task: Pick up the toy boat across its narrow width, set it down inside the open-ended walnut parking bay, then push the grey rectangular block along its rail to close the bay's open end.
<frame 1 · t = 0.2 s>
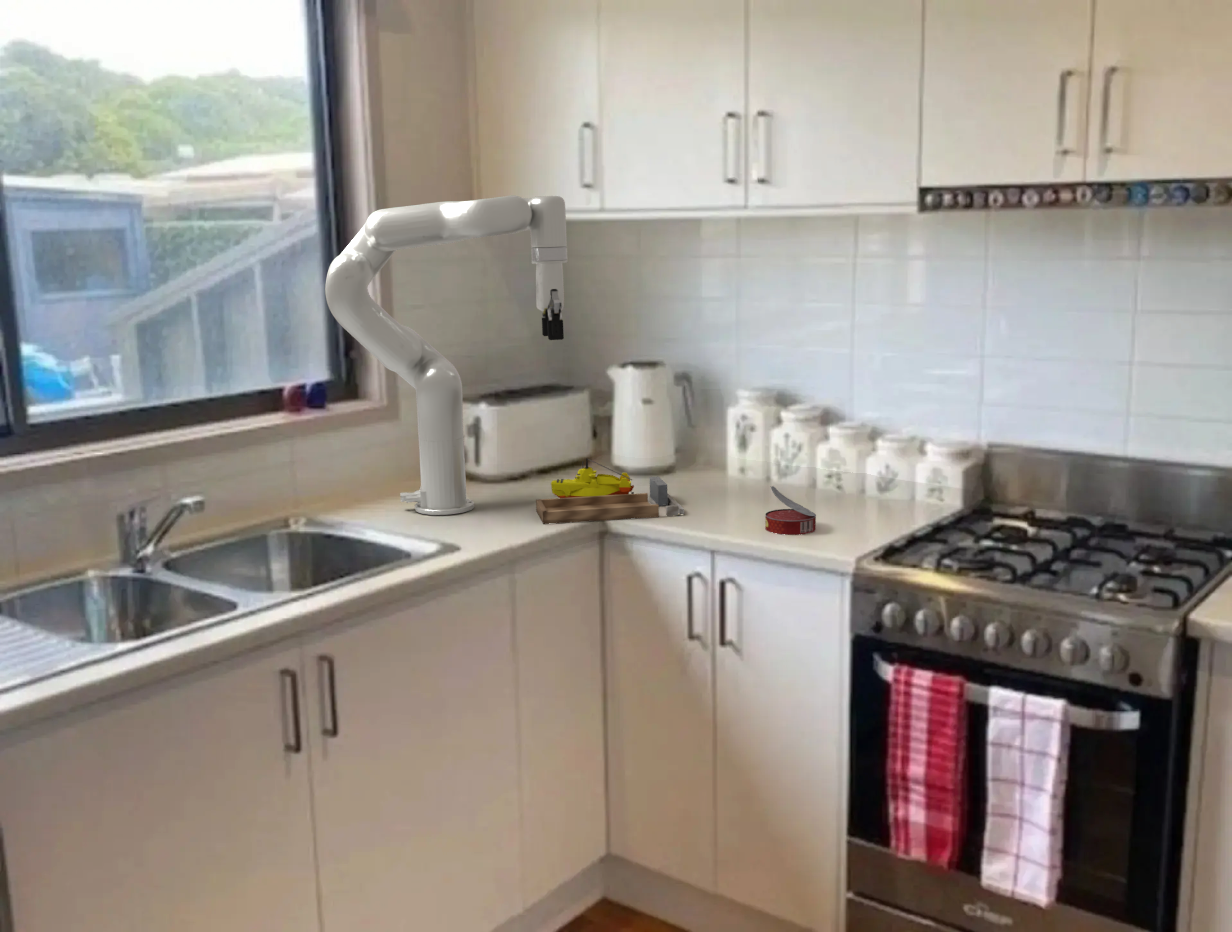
hand: (552, 337, 257), 36 cm above the countertop, tool pointing down, fingers open, 9 cm apart
bay: (596, 513, 253), on the countertop
canned food: (790, 530, 237), on the countertop
toy boat: (593, 503, 263), on the countertop
grey rectangular block: (658, 490, 262), point 2 cm above the countertop, slide at 8.0 cm
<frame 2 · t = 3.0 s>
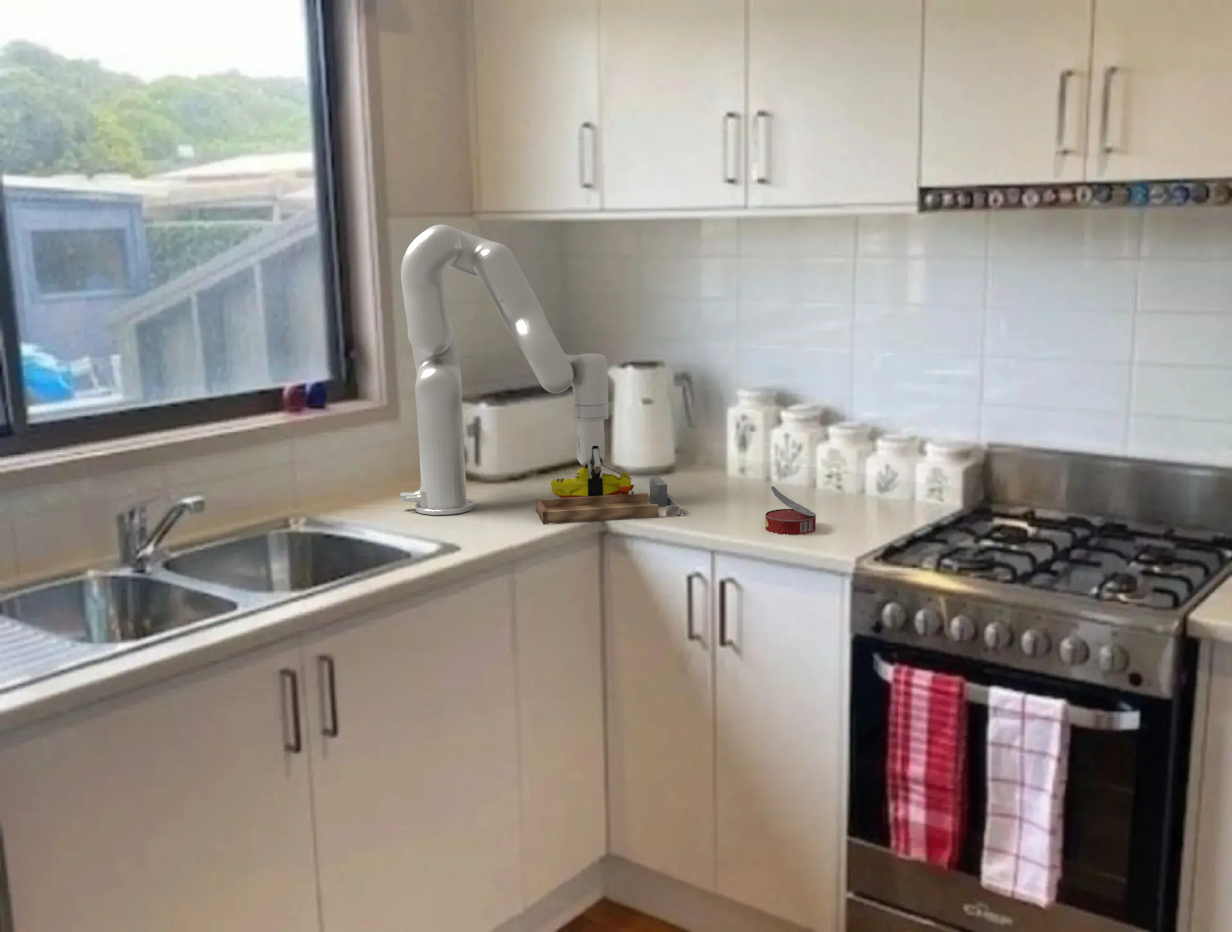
hand: (592, 492, 263), 2 cm above the countertop, tool pointing down, fingers closed on toy boat, 6 cm apart
toy boat: (593, 503, 263), on the countertop, touching gripper
everything else where it was.
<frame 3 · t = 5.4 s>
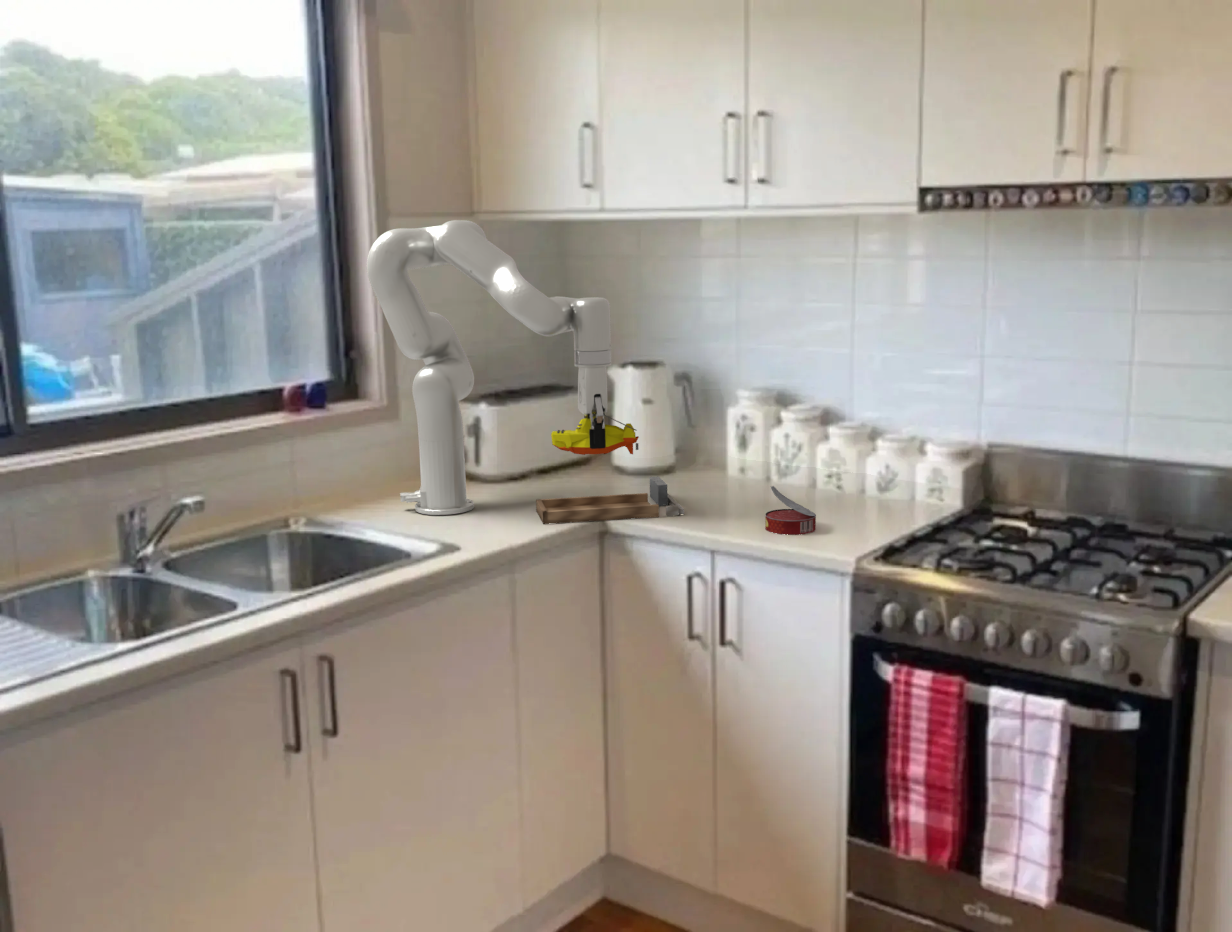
hand: (594, 444, 250), 15 cm above the countertop, tool pointing down, fingers closed on toy boat, 6 cm apart
toy boat: (595, 455, 250), point 12 cm above the countertop, touching gripper
everything else where it was.
when the fingers open (4 cm above the countertop, at t = 7.6 s): toy boat drops 1 cm, resting on bay.
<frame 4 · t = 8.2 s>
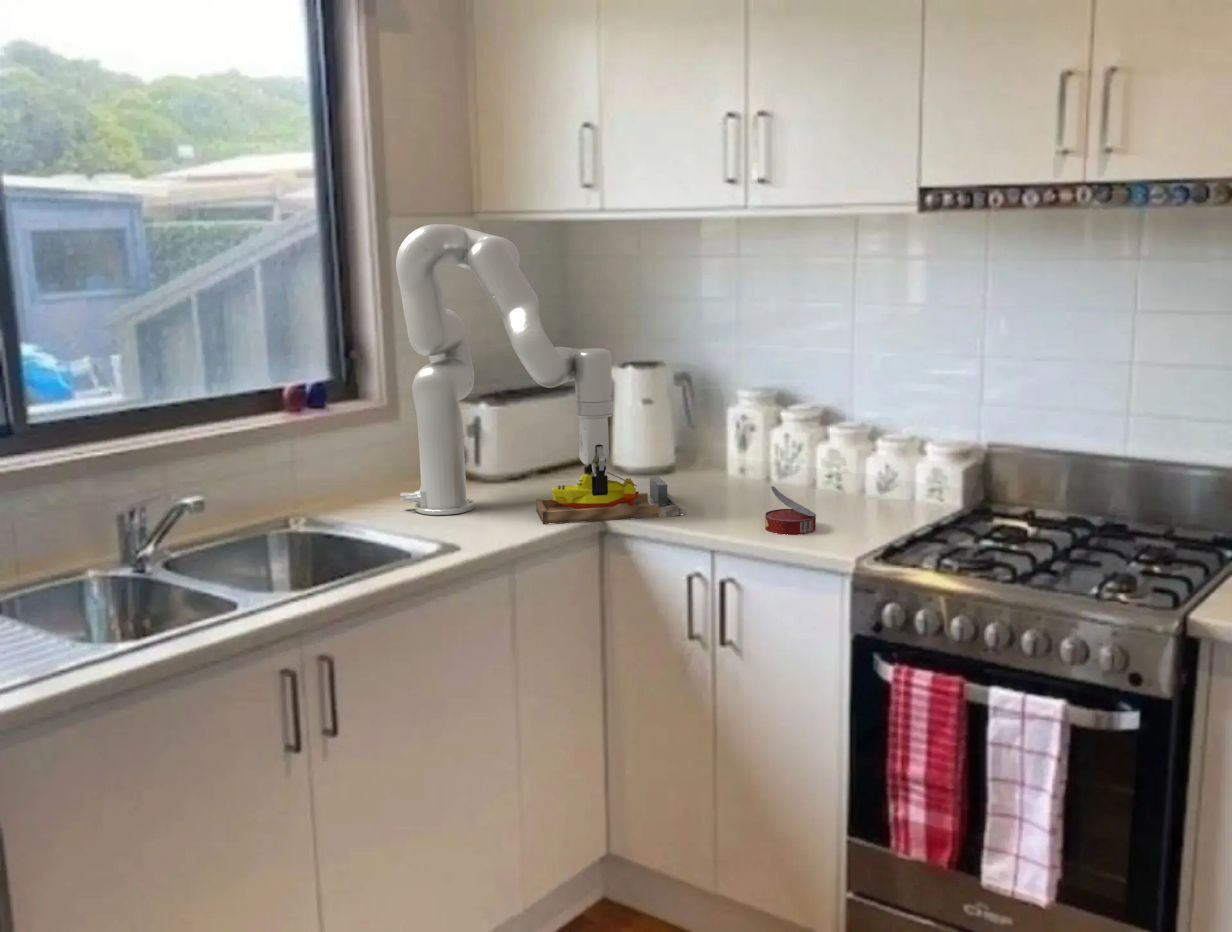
hand: (596, 490, 252), 5 cm above the countertop, tool pointing down, fingers open, 9 cm apart
toy boat: (595, 511, 253), point 1 cm above the countertop, touching bay
everything else where it was.
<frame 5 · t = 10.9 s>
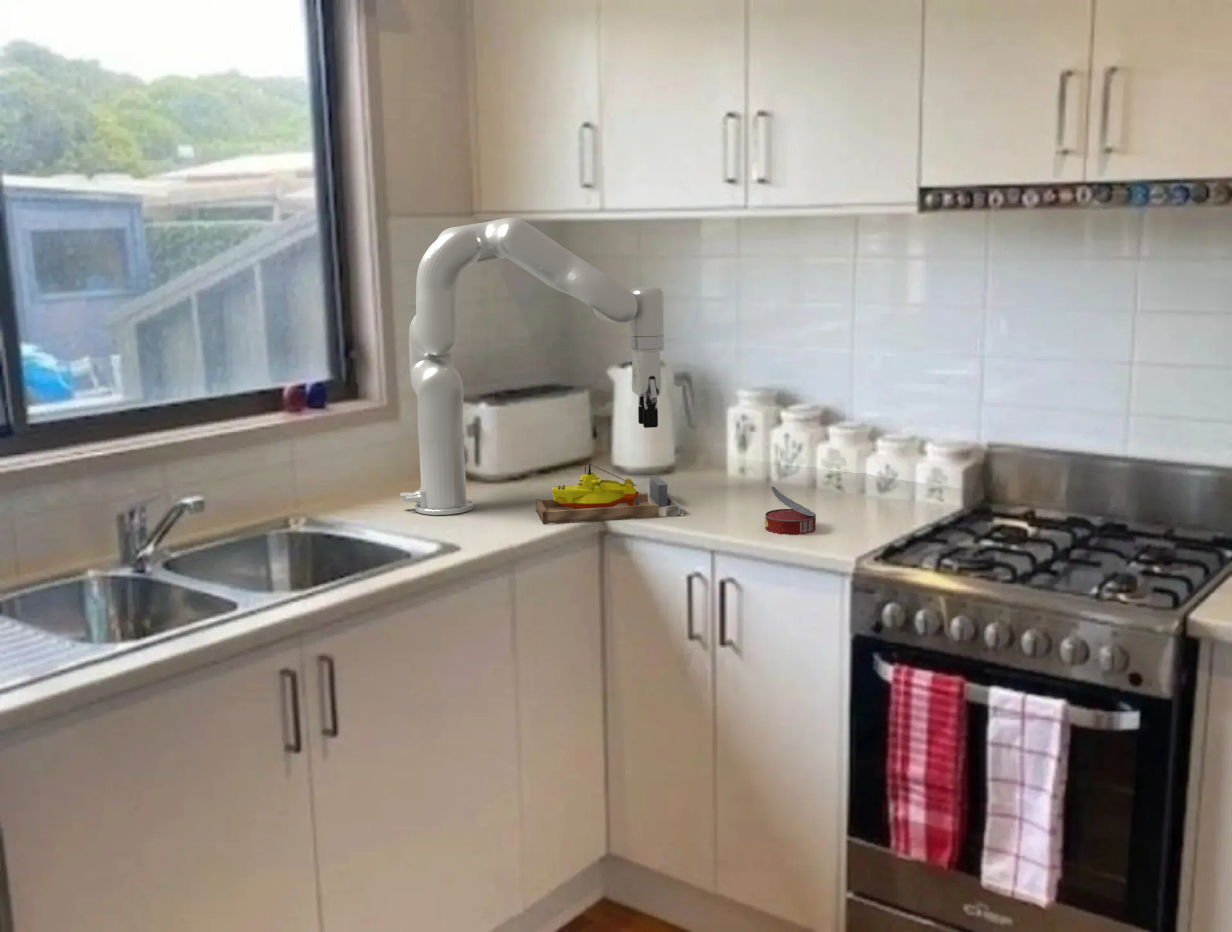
hand: (648, 424, 270), 15 cm above the countertop, tool pointing down, fingers open, 4 cm apart
nothing on the countertop moved.
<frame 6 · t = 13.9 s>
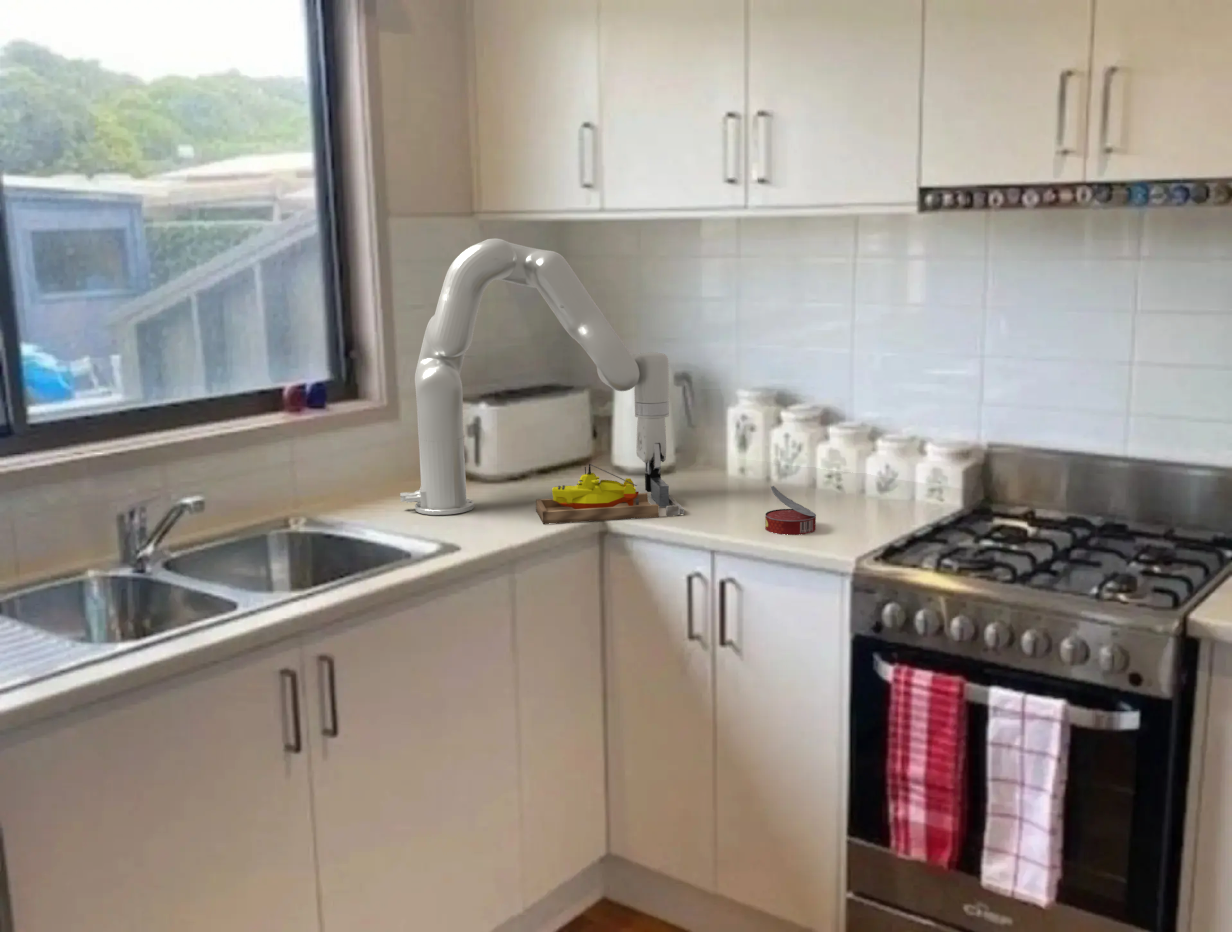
hand: (653, 491, 268), 1 cm above the countertop, tool pointing down, fingers closed
grey rectangular block: (659, 492, 261), point 2 cm above the countertop, slide at 6.8 cm, touching gripper
everything else where it was.
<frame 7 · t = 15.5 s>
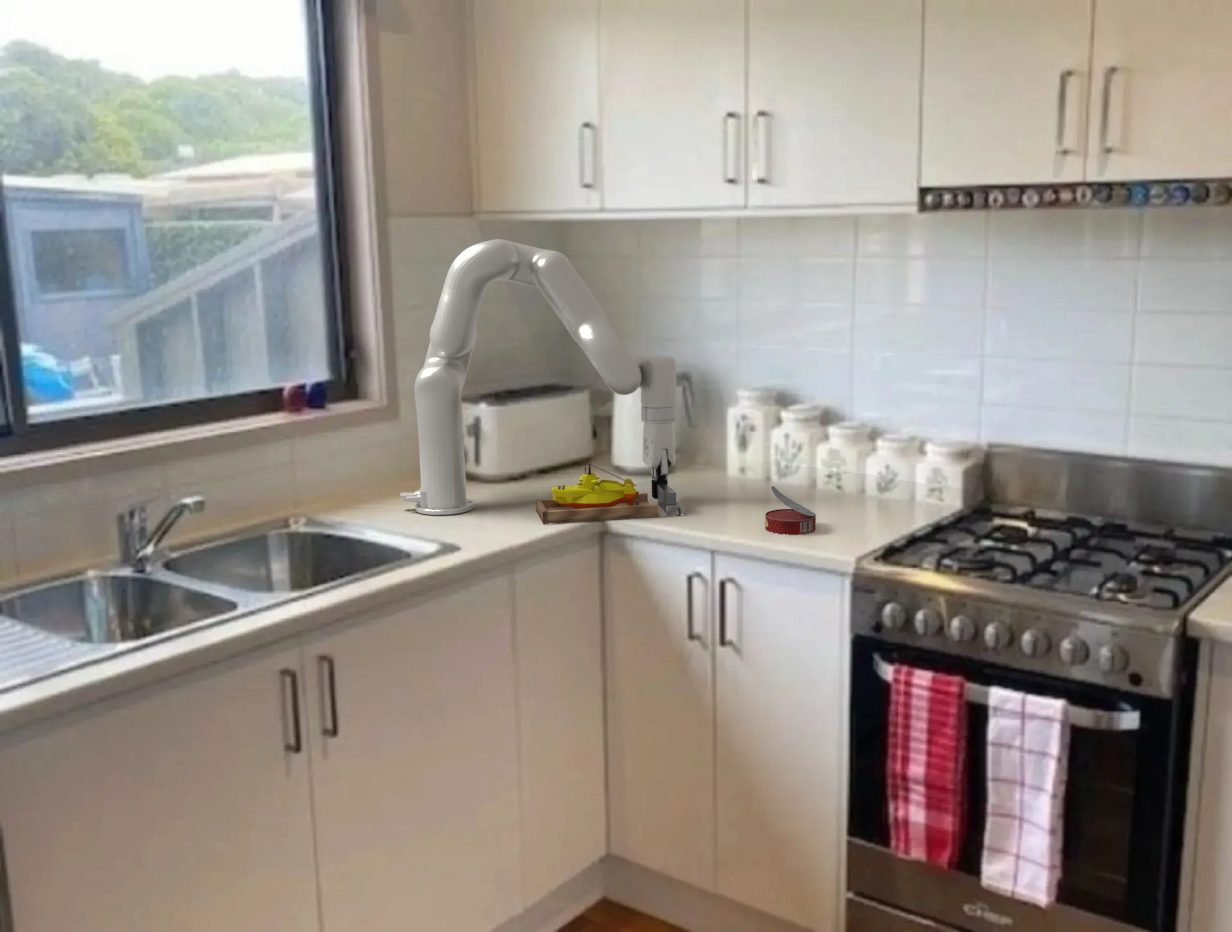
hand: (659, 497, 261), 1 cm above the countertop, tool pointing down, fingers closed
grey rectangular block: (666, 498, 255), point 2 cm above the countertop, slide at -0.2 cm, touching gripper
everything else where it was.
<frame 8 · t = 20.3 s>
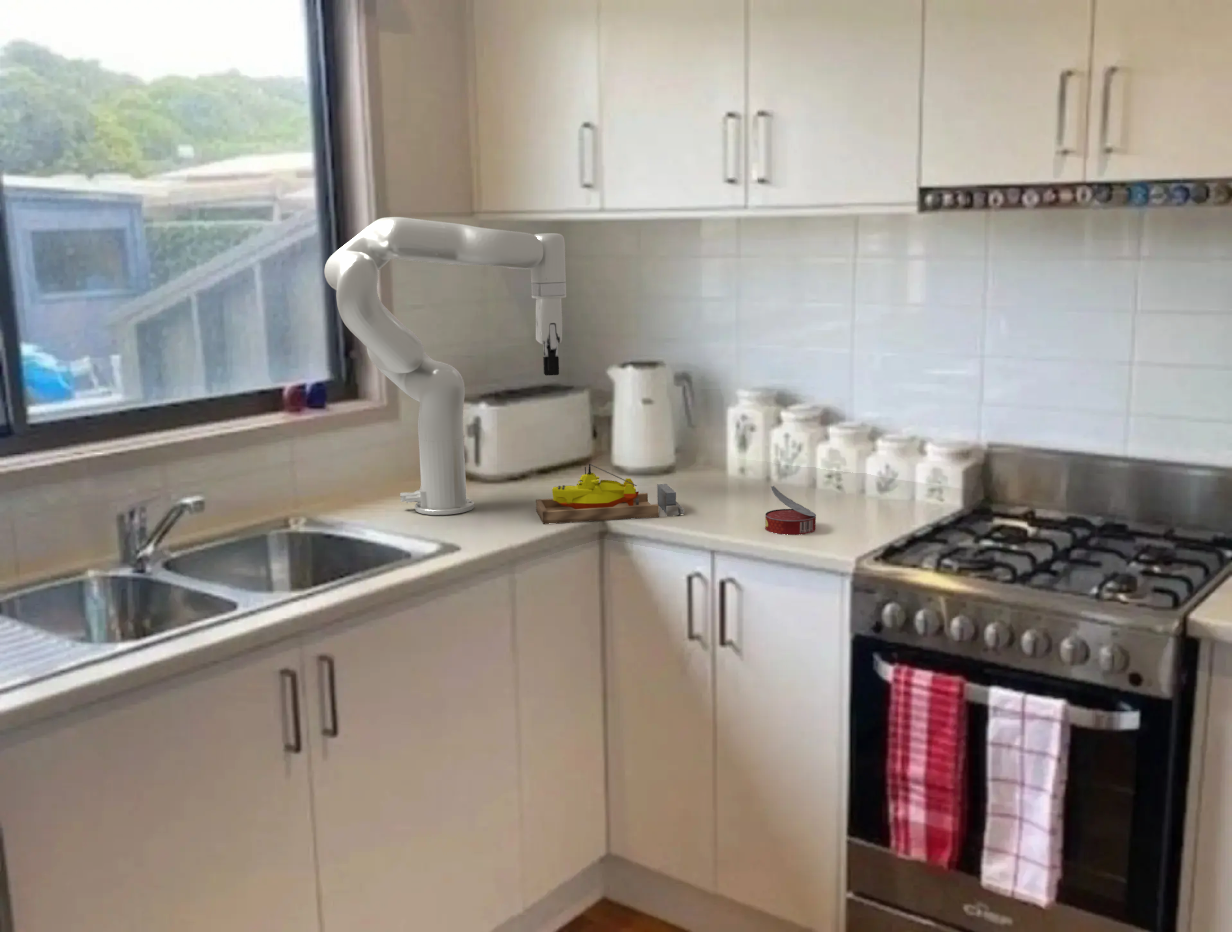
hand: (551, 374, 267), 27 cm above the countertop, tool pointing down, fingers closed
grey rectangular block: (666, 498, 255), point 2 cm above the countertop, slide at 0.0 cm
everything else where it was.
at the end: toy boat inside the target area on the bay (0.1 cm from its centre), point 0.6 cm above the bay's base; toy boat tilted 0°; grey rectangular block slide at 0.0 cm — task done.
